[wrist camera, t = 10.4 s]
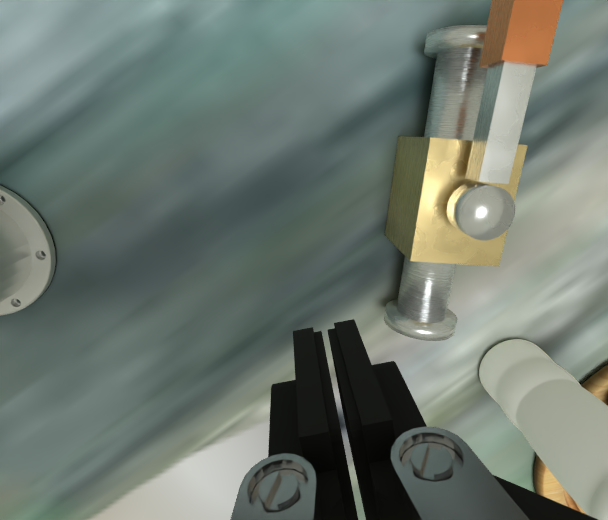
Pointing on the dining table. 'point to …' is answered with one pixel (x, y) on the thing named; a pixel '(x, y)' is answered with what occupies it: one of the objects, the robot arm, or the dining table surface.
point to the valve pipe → (440, 189)
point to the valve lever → (502, 112)
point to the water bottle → (553, 418)
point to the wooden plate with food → (601, 385)
